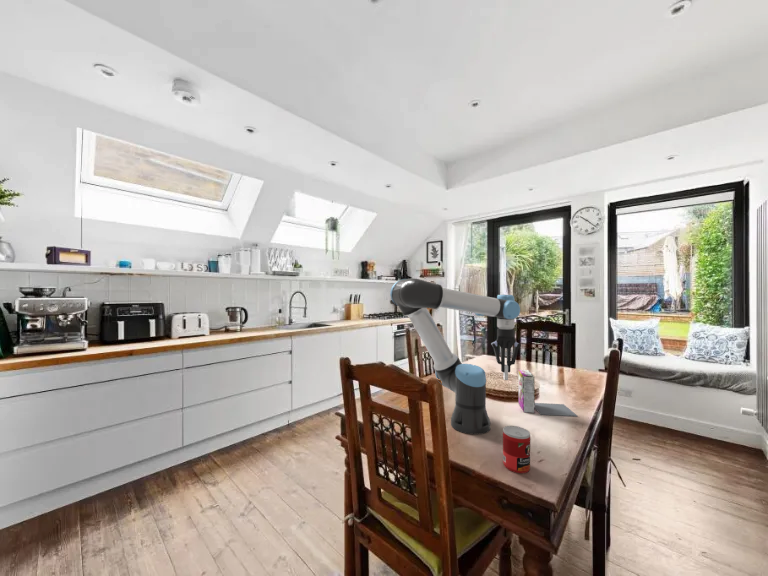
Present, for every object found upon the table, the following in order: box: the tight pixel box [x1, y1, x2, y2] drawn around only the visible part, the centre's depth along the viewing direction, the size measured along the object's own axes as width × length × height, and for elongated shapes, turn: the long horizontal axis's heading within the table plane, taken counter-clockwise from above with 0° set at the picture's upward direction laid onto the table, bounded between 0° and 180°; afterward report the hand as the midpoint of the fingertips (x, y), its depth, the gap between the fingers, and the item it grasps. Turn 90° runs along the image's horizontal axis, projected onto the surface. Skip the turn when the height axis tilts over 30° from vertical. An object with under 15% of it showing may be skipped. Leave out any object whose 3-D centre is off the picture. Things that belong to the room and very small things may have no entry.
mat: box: [535, 402, 579, 418], centre depth 146 cm, size 15×14×1 cm
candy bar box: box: [517, 369, 536, 414], centre depth 147 cm, size 11×5×16 cm, turn 168°
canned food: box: [502, 425, 531, 474], centre depth 99 cm, size 8×8×11 cm
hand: (505, 379), depth 148 cm, fingers closed
